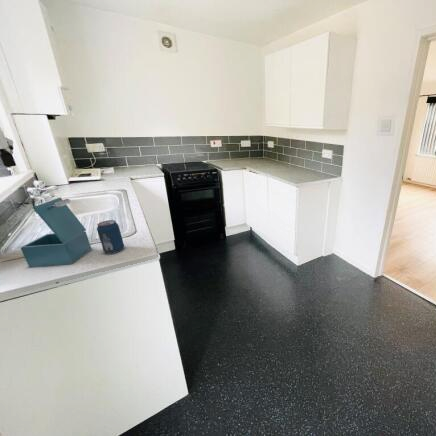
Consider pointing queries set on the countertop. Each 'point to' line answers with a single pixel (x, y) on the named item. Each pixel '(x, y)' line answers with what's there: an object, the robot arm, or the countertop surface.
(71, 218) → the freezer lid
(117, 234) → the soda can
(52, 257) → the box
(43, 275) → the countertop surface
